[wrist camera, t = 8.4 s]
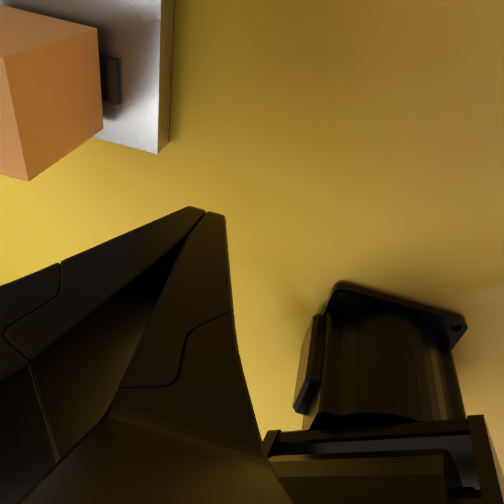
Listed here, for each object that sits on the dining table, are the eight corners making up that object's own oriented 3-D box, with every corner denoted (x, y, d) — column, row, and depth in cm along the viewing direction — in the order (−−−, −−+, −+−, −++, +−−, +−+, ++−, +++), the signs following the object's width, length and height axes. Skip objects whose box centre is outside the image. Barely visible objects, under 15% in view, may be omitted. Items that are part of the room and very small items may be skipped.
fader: (96, 28, 13) (2, 57, 10) (103, 128, 16) (28, 181, 12) (-14, 1, 14) (-144, 20, 10) (7, 103, 16) (-93, 148, 12)
